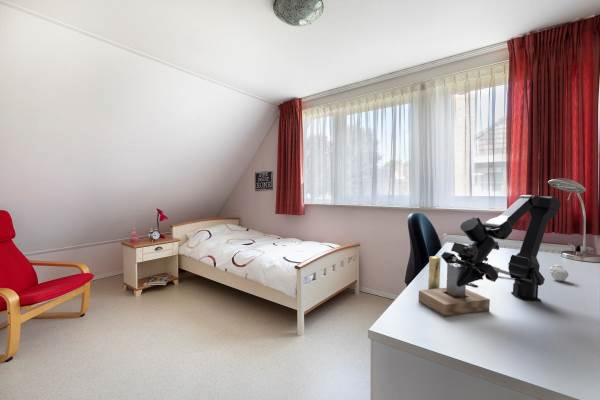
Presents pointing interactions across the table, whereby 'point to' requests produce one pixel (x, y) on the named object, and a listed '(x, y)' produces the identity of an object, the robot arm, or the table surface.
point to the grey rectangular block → (455, 280)
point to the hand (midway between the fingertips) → (452, 283)
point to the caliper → (500, 270)
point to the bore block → (453, 302)
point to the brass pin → (434, 272)
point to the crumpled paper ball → (558, 272)
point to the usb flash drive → (472, 285)
